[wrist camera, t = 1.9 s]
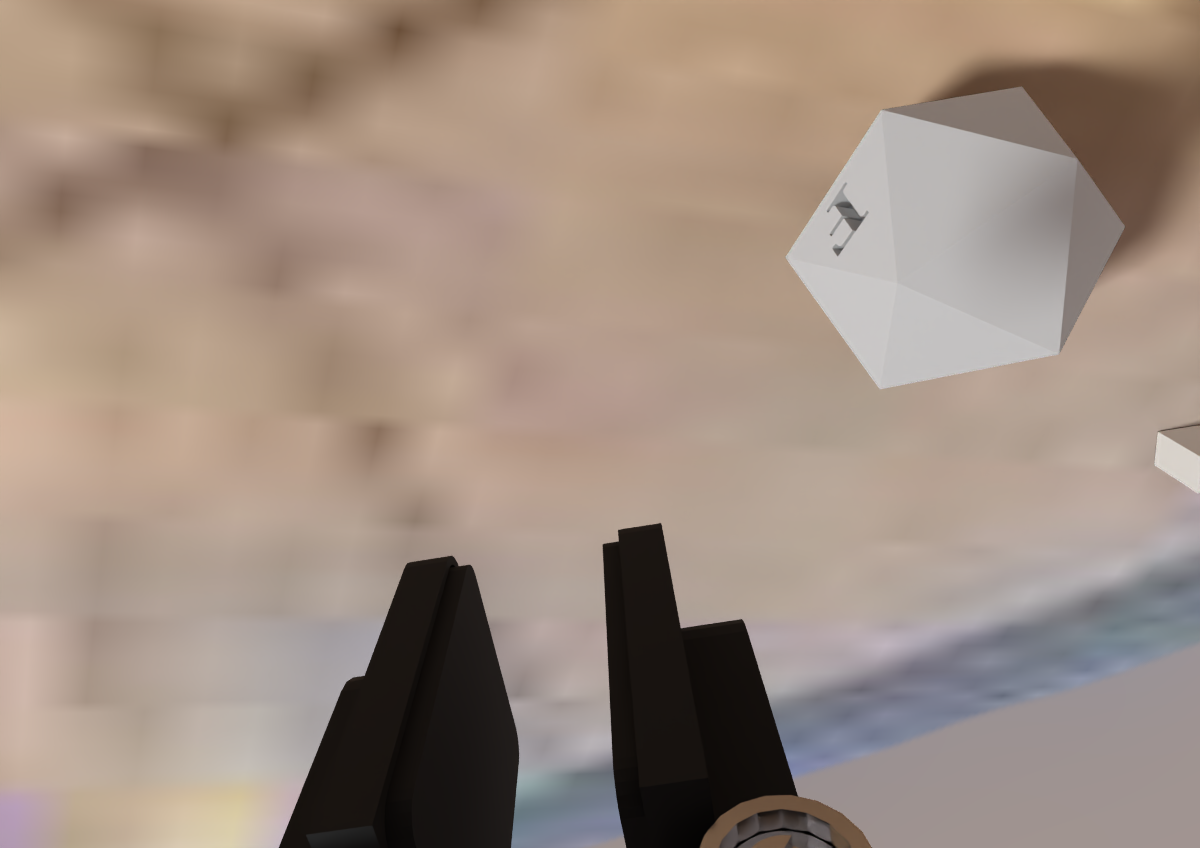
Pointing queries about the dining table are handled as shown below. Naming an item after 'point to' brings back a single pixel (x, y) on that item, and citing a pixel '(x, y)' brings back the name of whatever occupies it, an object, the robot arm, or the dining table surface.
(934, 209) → the die
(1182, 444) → the white stand base
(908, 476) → the dining table surface
